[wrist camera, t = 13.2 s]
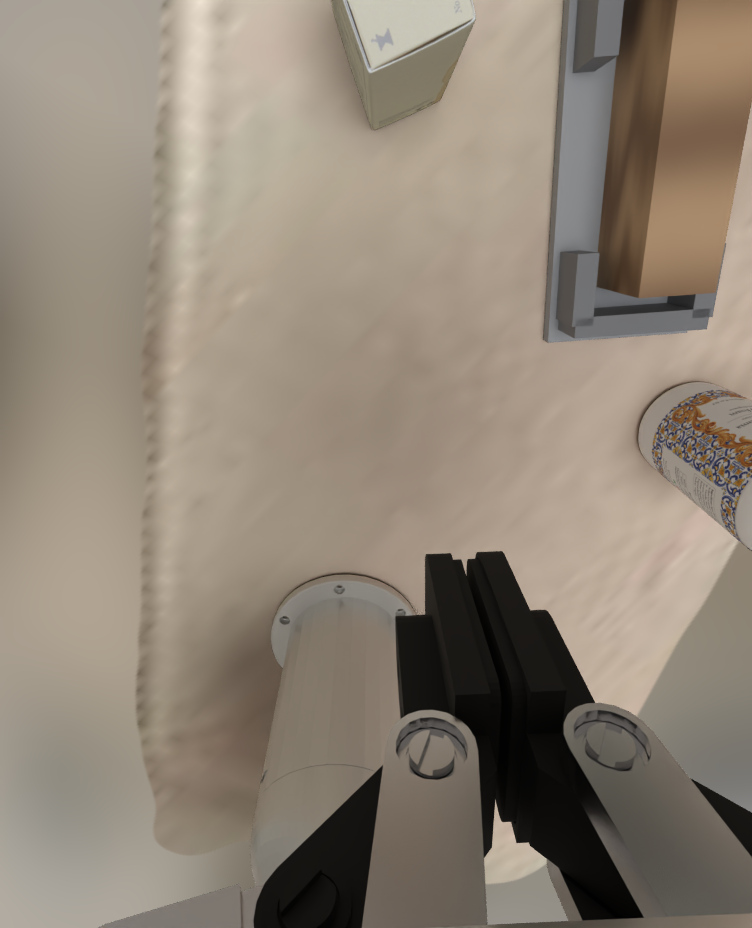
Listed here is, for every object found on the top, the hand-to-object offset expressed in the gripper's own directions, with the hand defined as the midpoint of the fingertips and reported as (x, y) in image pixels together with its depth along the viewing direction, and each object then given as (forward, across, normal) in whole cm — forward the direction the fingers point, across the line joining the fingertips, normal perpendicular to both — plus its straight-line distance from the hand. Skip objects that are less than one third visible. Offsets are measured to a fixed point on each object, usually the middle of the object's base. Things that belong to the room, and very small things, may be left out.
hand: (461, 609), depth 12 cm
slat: (+25, -14, -12) cm, 31 cm away
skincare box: (+26, 0, -17) cm, 31 cm away
